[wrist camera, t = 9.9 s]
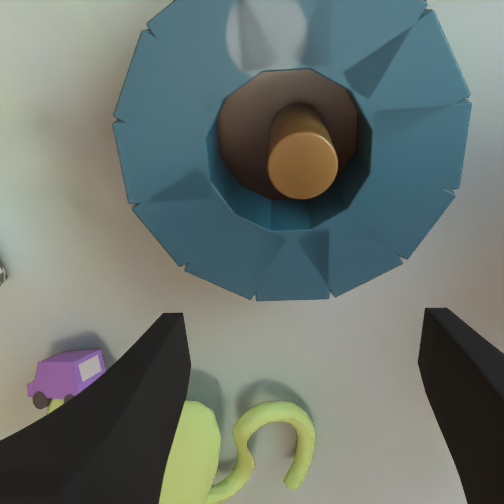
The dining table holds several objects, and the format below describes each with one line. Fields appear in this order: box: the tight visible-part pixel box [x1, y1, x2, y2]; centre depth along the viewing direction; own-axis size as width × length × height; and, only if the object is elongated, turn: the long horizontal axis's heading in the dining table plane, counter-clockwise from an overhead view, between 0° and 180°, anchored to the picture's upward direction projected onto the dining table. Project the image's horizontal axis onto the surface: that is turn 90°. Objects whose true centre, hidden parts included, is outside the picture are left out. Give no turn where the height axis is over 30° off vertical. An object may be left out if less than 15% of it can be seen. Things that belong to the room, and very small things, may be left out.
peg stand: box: [217, 0, 426, 200], centre depth 18 cm, size 10×10×6 cm
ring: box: [112, 0, 472, 301], centre depth 19 cm, size 13×13×3 cm
